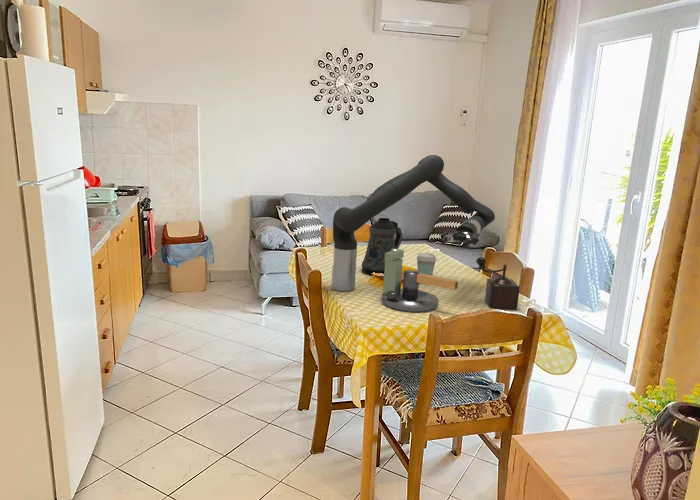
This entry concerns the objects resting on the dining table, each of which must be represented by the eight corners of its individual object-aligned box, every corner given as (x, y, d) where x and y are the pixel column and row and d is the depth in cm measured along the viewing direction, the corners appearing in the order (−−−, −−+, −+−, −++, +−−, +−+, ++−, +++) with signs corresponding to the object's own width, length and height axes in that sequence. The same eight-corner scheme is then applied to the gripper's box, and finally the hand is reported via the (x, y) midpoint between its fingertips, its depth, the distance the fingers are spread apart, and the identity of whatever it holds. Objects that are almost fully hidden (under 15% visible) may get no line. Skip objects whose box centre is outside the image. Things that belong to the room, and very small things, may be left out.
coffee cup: (433, 285, 231) (436, 258, 228) (414, 283, 232) (416, 256, 230) (434, 279, 239) (437, 253, 236) (415, 277, 241) (417, 251, 238)
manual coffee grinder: (509, 300, 215) (514, 257, 211) (517, 310, 204) (523, 264, 200) (470, 299, 215) (475, 255, 210) (477, 308, 204) (482, 262, 200)
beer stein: (355, 273, 243) (358, 219, 237) (371, 264, 260) (374, 213, 254) (389, 279, 236) (393, 223, 230) (403, 269, 253) (407, 217, 248)
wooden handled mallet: (399, 297, 205) (401, 272, 202) (406, 293, 210) (408, 269, 207) (450, 309, 194) (453, 283, 192) (456, 305, 199) (459, 279, 197)
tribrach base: (370, 303, 203) (373, 253, 198) (397, 290, 221) (400, 243, 216) (423, 317, 192) (428, 263, 187) (447, 301, 210) (451, 252, 205)
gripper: (451, 220, 216) (435, 232, 204) (485, 223, 209) (471, 236, 196) (451, 237, 219) (435, 250, 206) (485, 241, 211) (471, 255, 199)
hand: (453, 243), depth 201 cm, fingers open, 8 cm apart
